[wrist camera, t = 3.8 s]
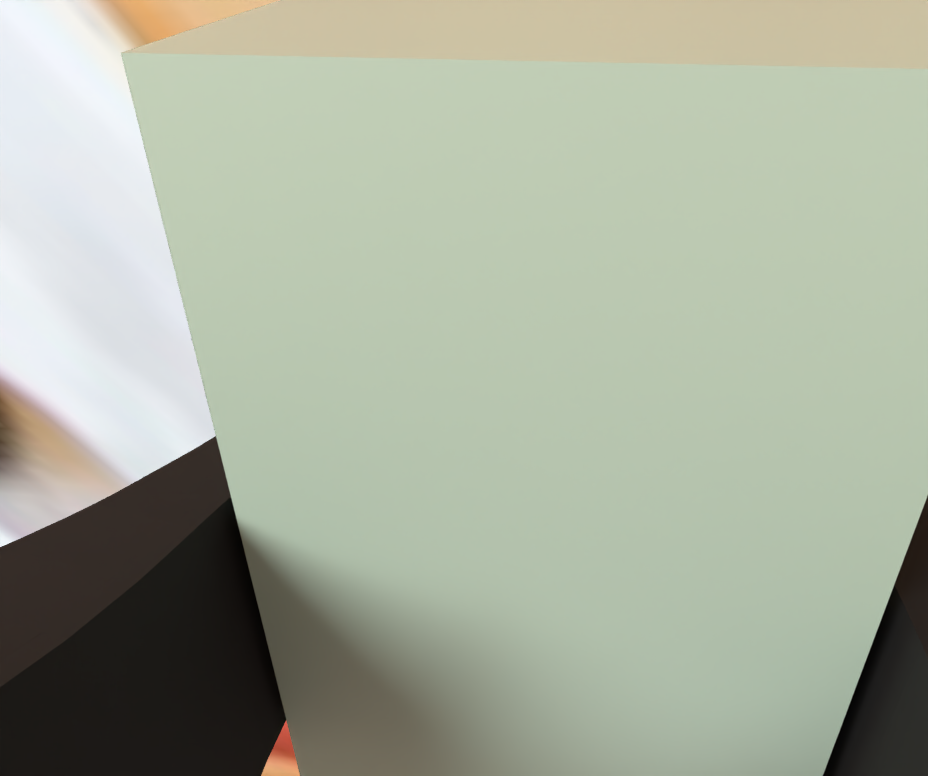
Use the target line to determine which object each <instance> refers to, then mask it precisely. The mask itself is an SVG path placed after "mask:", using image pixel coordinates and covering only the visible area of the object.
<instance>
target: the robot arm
mask: <svg viewBox="0 0 928 776" xmlns="http://www.w3.org/2000/svg"><path fill="white" fill-rule="evenodd" d="M285 721H286V716H285V712H284V708H283V704H282V700H281V696H280V692H279V688H278V684H277V680H276V676H275V672H274V668H273V664H272V660H271V656H270V652H269V648H268V644H267V640H266V636H265V632H264V628H263V623H262V619H261V615H260V611H259V607H258V603H257V599H256V595H255V591H254V587H253V583H252V579H251V575H250V571H249V567H248V563H247V559H246V555H245V551H244V547H243V543H242V539H241V535H240V531H239V527H238V523H237V519H236V515H235V511H234V507H233V503H232V499H231V495H230V491H229V487H228V482H227V478H226V474H225V470H224V466H223V462H222V458H221V454H220V450H219V446H218V442H217V438H216V436H215V437H214V438H212V439H210V440H209V441H207V442H205V443H204V444H202V445H200V446H199V447H197V448H195V449H194V450H192V451H190V452H189V453H187V454H185V455H183V456H181V457H180V458H178V459H176V460H174V461H172V462H171V463H169V464H167V465H165V466H163V467H161V468H160V469H158V470H156V471H154V472H152V473H151V474H149V475H147V476H145V477H143V478H142V479H140V480H138V481H136V482H134V483H133V484H131V485H129V486H127V487H125V488H124V489H122V490H120V491H118V492H116V493H115V494H113V495H111V496H109V497H107V498H105V499H103V500H101V501H99V502H97V503H95V504H93V505H91V506H89V507H87V508H85V509H83V510H81V511H79V512H77V513H75V514H73V515H71V516H69V517H67V518H64V519H62V520H60V521H58V522H56V523H53V524H51V525H49V526H47V527H45V528H42V529H40V530H38V531H36V532H34V533H32V534H29V535H27V536H25V537H23V538H21V539H18V540H16V541H14V542H11V543H9V544H7V545H4V546H2V547H0V776H261V774H262V772H263V769H264V767H265V764H266V762H267V759H268V757H269V755H270V753H271V751H272V749H273V747H274V744H275V742H276V740H277V738H278V736H279V734H280V732H281V730H282V727H283V725H284V723H285ZM823 776H928V496H927V499H926V501H925V504H924V507H923V509H922V512H921V515H920V517H919V520H918V523H917V525H916V528H915V531H914V533H913V536H912V539H911V541H910V544H909V547H908V549H907V552H906V555H905V557H904V560H903V563H902V565H901V568H900V571H899V573H898V576H897V579H896V581H895V584H894V587H893V589H892V592H891V595H890V597H889V600H888V603H887V605H886V608H885V611H884V613H883V616H882V619H881V621H880V624H879V627H878V629H877V632H876V635H875V637H874V640H873V643H872V645H871V648H870V651H869V654H868V656H867V659H866V662H865V664H864V667H863V670H862V672H861V675H860V678H859V680H858V683H857V686H856V688H855V691H854V694H853V696H852V699H851V702H850V704H849V707H848V710H847V712H846V715H845V718H844V720H843V723H842V726H841V728H840V731H839V734H838V736H837V739H836V742H835V744H834V747H833V750H832V752H831V755H830V758H829V760H828V763H827V766H826V768H825V771H824V774H823Z"/></svg>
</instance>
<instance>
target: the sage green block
mask: <svg viewBox="0 0 928 776" xmlns="http://www.w3.org/2000/svg"><path fill="white" fill-rule="evenodd" d="M121 55H122V59H123V64H124V68H125V72H126V76H127V80H128V84H129V88H130V92H131V96H132V100H133V104H134V108H135V112H136V116H137V120H138V124H139V128H140V132H141V136H142V140H143V144H144V148H145V152H146V156H147V160H148V164H149V168H150V172H151V176H152V180H153V184H154V188H155V192H156V196H157V200H158V205H159V209H160V213H161V217H162V221H163V225H164V229H165V233H166V237H167V241H168V245H169V249H170V253H171V257H172V261H173V265H174V269H175V273H176V277H177V281H178V285H179V289H180V293H181V297H182V301H183V305H184V309H185V313H186V317H187V321H188V325H189V329H190V333H191V337H192V341H193V346H194V350H195V354H196V358H197V362H198V366H199V370H200V374H201V378H202V382H203V386H204V390H205V394H206V398H207V402H208V406H209V410H210V414H211V418H212V422H213V426H214V430H215V434H216V438H217V442H218V446H219V450H220V454H221V458H222V462H223V466H224V470H225V474H226V478H227V482H228V487H229V491H230V495H231V499H232V503H233V507H234V511H235V515H236V519H237V523H238V527H239V531H240V535H241V539H242V543H243V547H244V551H245V555H246V559H247V563H248V567H249V571H250V575H251V579H252V583H253V587H254V591H255V595H256V599H257V603H258V607H259V611H260V615H261V619H262V623H263V628H264V632H265V636H266V640H267V644H268V648H269V652H270V656H271V660H272V664H273V668H274V672H275V676H276V680H277V684H278V688H279V692H280V696H281V700H282V704H283V708H284V712H285V716H286V720H287V724H288V728H289V732H290V736H291V740H292V744H293V748H294V752H295V756H296V760H297V764H298V769H299V773H300V776H823V774H824V771H825V768H826V766H827V763H828V760H829V758H830V755H831V752H832V750H833V747H834V744H835V742H836V739H837V736H838V734H839V731H840V728H841V726H842V723H843V720H844V718H845V715H846V712H847V710H848V707H849V704H850V702H851V699H852V696H853V694H854V691H855V688H856V686H857V683H858V680H859V678H860V675H861V672H862V670H863V667H864V664H865V662H866V659H867V656H868V654H869V651H870V648H871V645H872V643H873V640H874V637H875V635H876V632H877V629H878V627H879V624H880V621H881V619H882V616H883V613H884V611H885V608H886V605H887V603H888V600H889V597H890V595H891V592H892V589H893V587H894V584H895V581H896V579H897V576H898V573H899V571H900V568H901V565H902V563H903V560H904V557H905V555H906V552H907V549H908V547H909V544H910V541H911V539H912V536H913V533H914V531H915V528H916V525H917V523H918V520H919V517H920V515H921V512H922V509H923V507H924V504H925V501H926V499H927V496H928V0H279V1H276V2H273V3H270V4H267V5H264V6H261V7H258V8H255V9H252V10H249V11H246V12H243V13H240V14H237V15H234V16H231V17H228V18H225V19H222V20H219V21H216V22H213V23H210V24H207V25H204V26H201V27H198V28H195V29H192V30H189V31H185V32H182V33H179V34H176V35H173V36H170V37H167V38H164V39H161V40H158V41H155V42H152V43H149V44H146V45H143V46H140V47H137V48H134V49H131V50H128V51H125V52H122V53H121Z"/></svg>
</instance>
